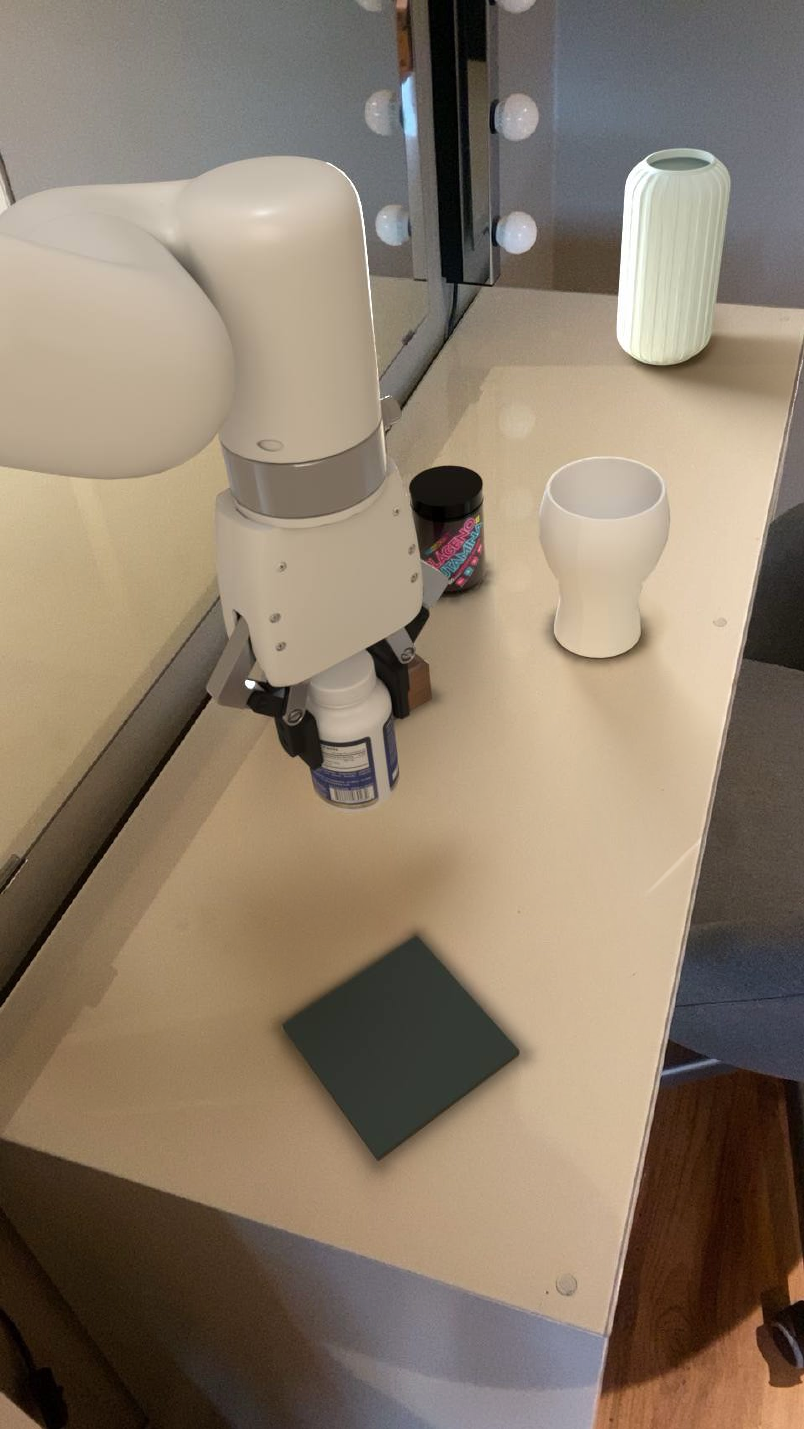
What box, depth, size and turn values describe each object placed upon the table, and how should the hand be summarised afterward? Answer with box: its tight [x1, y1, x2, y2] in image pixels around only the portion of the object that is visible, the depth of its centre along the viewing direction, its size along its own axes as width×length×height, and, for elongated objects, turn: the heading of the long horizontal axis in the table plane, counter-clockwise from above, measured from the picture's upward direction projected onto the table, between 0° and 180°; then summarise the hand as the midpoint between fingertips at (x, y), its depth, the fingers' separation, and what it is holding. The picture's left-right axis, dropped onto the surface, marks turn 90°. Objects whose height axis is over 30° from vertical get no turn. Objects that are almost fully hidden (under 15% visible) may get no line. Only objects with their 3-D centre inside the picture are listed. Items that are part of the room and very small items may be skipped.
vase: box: [616, 147, 732, 366], centre depth 124 cm, size 12×12×22 cm
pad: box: [281, 935, 520, 1161], centre depth 67 cm, size 11×11×1 cm
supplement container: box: [408, 464, 487, 597], centre depth 98 cm, size 7×7×10 cm
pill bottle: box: [306, 649, 401, 815], centre depth 61 cm, size 5×5×10 cm
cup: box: [538, 455, 671, 659], centre depth 89 cm, size 11×11×15 cm
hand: (347, 727), depth 61 cm, fingers closed on pill bottle, 5 cm apart
